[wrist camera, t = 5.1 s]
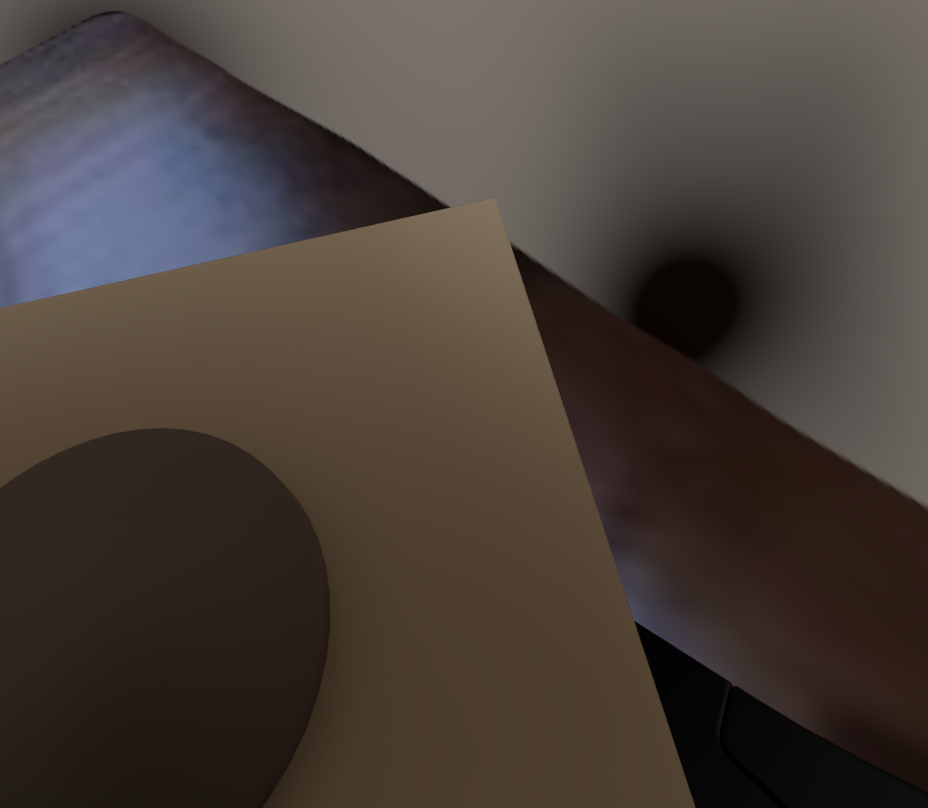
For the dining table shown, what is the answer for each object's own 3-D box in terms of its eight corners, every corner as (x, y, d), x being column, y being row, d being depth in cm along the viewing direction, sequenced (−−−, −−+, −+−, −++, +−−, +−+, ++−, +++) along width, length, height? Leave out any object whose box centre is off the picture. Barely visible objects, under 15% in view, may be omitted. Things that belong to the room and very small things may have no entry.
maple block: (574, 806, 14) (927, 1469, 1) (385, 849, 13) (-1041, 1917, 1) (526, 609, 16) (493, 177, 4) (365, 646, 16) (-220, 337, 4)
